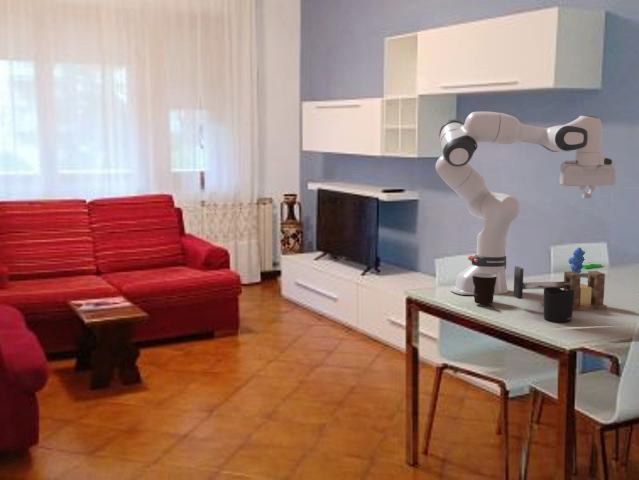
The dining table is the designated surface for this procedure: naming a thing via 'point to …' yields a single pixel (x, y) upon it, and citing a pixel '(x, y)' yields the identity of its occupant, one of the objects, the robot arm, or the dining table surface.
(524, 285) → the shaft
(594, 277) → the bearing block
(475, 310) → the dining table surface
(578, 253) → the grapes
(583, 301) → the spacer
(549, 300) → the pen holder
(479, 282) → the coffee mug
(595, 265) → the mechanical part
